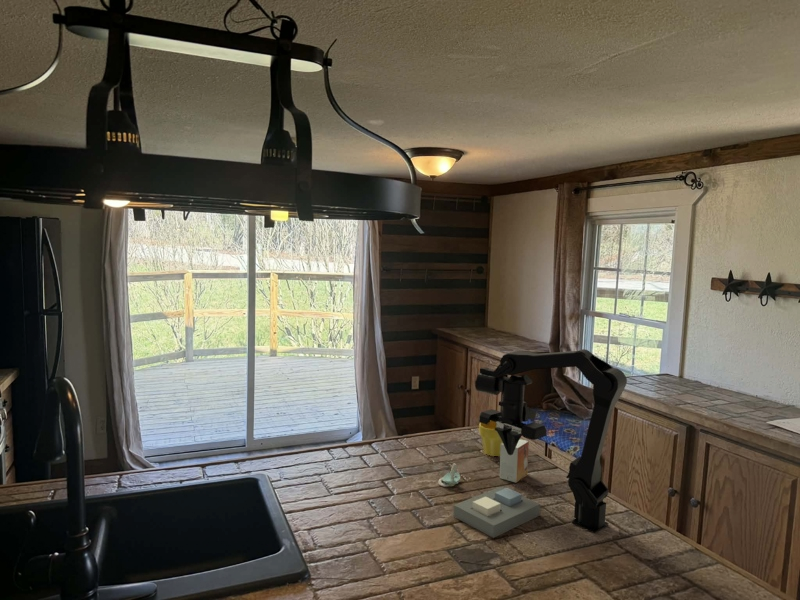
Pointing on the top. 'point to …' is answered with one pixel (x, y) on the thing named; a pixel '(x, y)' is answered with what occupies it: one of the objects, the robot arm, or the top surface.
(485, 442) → the plant pot
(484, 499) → the cream key
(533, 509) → the keypad
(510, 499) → the slate key
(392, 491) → the top surface
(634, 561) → the top surface
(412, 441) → the top surface
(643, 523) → the top surface
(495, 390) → the robot arm
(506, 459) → the small box
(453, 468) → the pacifier
